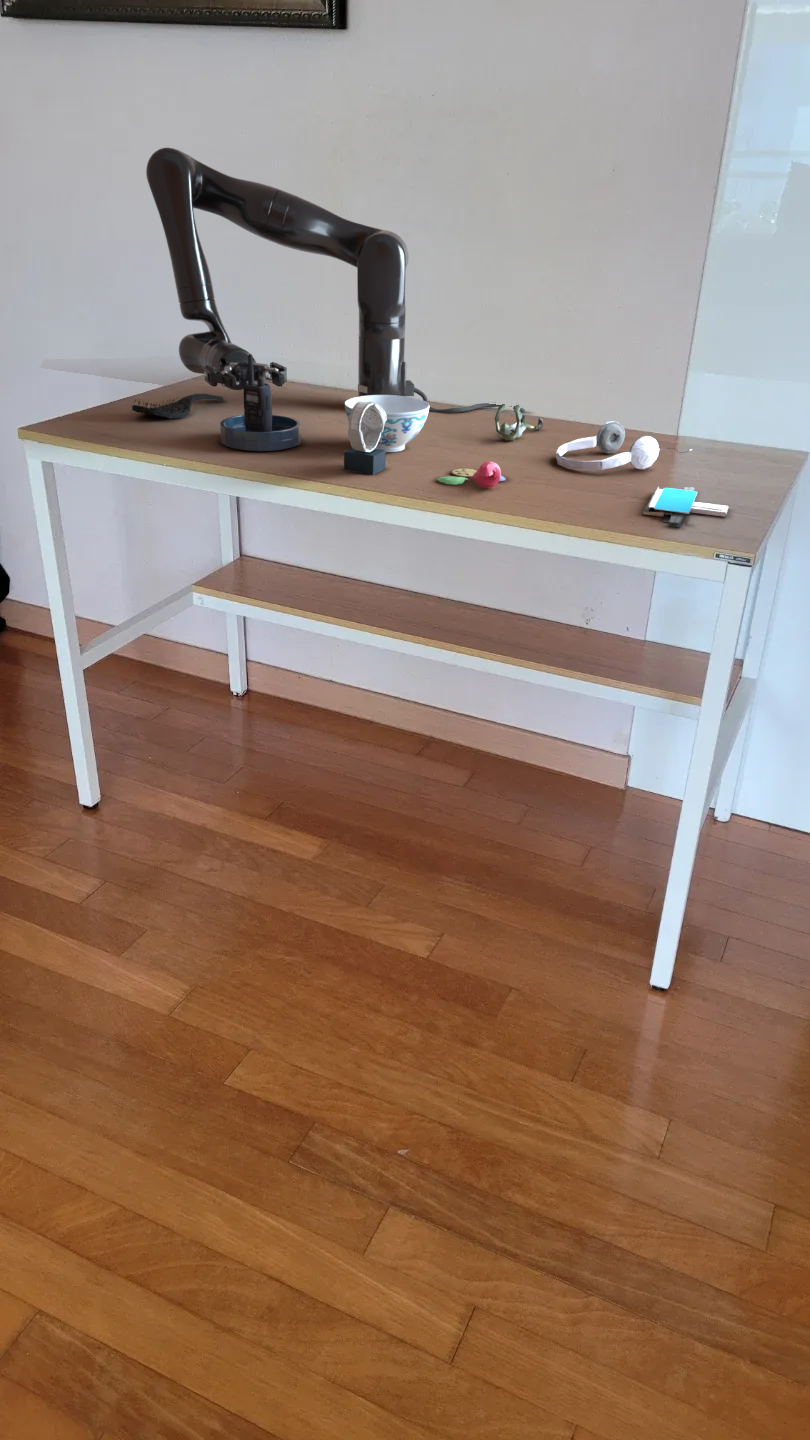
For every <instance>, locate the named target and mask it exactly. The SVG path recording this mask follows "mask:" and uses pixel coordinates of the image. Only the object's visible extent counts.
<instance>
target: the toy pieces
mask: <svg viewBox="0 0 810 1440" xmlns="http://www.w3.org/2000/svg"><path fill="white" fill-rule="evenodd" d="M451 475H453V476H450V475H449V476H447V475H445V476H440V477H438V478H437V479H436V480H437V482H439V483H441V484H444V485H448V486H461V485H463V484H464V483H465V481H466V482H467V481H469V479H468V478H470V479H471V480H472V481H474V482H475V483H476V484H477V485H479V486H480V487H482V488H485V489H489V488H493V487H495V486H497V485H498V484H499V483H500V482H505V481H506V477H505V476H503V475H502V470H501V468H500V466H499V465H498V463H496V462H493V461H491V460H490V461H485V462H483V463H482V464H480V466H479V467H478V469H473V468H456V469H453V470H452V471H451Z"/></svg>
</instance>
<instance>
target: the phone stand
mask: <svg viewBox="0 0 810 1440" xmlns="http://www.w3.org/2000/svg"><path fill="white" fill-rule="evenodd" d="M697 494H698V491H696V490H695V487H692V486H691V487H690V486H684V487H683V489H681V488H672V487H663V489H662V488H660V485H658V487H656V489H655V490H654V491H653V493H652V495H651V497H650V499H649V500H648V501H647V504H646V505H645V508H644V510H643V512H642V515H645V516H651V517H652V516H653V517H661V518H663V521H662V523H666V524H668V527H675V528H680V527H681V525H682V523H683V520H684V518H685V517H686V516H685V515H690V514H691V513H693V514H702V515H709V516H715V517H717V516H718V517H724V518H725V517H726V516H727V514H728V510H729V505H725V504H724V505H723V504H716V503H707V502H700V501H699V502H698V501H695V500H696V497H697ZM687 525H688V526H689V525H690V524H688V523H687Z"/></svg>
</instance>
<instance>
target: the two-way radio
mask: <svg viewBox="0 0 810 1440" xmlns="http://www.w3.org/2000/svg"><path fill="white" fill-rule="evenodd" d="M253 358H254V356H253V354H252V353H250V354H249V355H248V384H246V385H245V386H244V389H242V391H243V395H242V396H243V411H244V412H243V415H244V419H245V431H250V432H272V415H273V397H272V390H271V385H270V383H267V384H265V383H264V378H262V377H259V378H258V382H257V384H256V383H254V369H253Z"/></svg>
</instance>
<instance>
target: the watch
mask: <svg viewBox="0 0 810 1440" xmlns="http://www.w3.org/2000/svg"><path fill="white" fill-rule="evenodd" d="M386 420H387V416H386V413H385V411H384V410H383V408H382V407H380V406H379V405H378V404H376V403H374V402H369V401H367V402H361V401H360V402H357V403H356V404H355V405H354V407H353V409H352V411H351V414H350V419H349V420H348V429H347V433H348V439H349V443H350V446H351V448H349V449H346V450H344V451H343V471H348V472H353V473H360V474H365V475H372V476H374V475H376V474H378V473H380V472H382V471H383V470H386V452H385V450H380V449H375V448H376V446H377V444H378V441H379V439H380V435H381V433H382V432H383V429H384V424H385V422H386ZM361 422H362V423H363V425H364V427H365V430H368V434H367V438H366V440H365V441H364V439H363V434H362V431H361V430H360V426H361ZM354 424H356V425H354ZM376 437H377V438H376Z"/></svg>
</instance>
